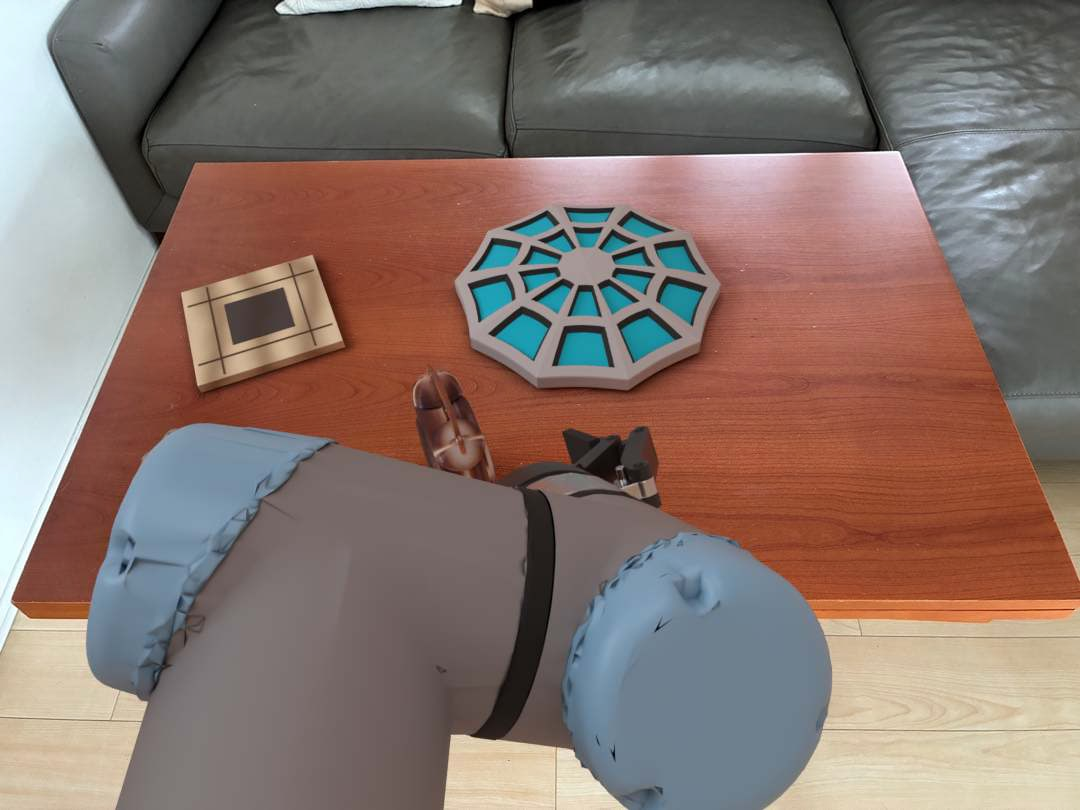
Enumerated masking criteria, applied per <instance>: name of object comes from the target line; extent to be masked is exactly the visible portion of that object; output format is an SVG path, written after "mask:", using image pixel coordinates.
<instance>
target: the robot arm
mask: <svg viewBox="0 0 1080 810" xmlns="http://www.w3.org/2000/svg"><path fill="white" fill-rule="evenodd" d="M177 429H178V430H176V431H174V432H172V433H171V434H169V435H167V436H166V437H165V438H164V439H163V438H162V439H161V440H160V441H159V442H158V443H157V444H156V445H155V446H153V448H152V449H151V450H150V451H149V452H150V453H149V454H148V455H147V456H146V458H145V459H144V461H143V463H142V464H141V463H140V466H139V468H138V469H137V471H136V473H135V474H134V475H133V477H132V480H131V483H130V484H129V487H128V489H127V490H126V493H125V495H124V497H123V500H122V501H121V503H122V504H121V503H120V505H119V508H120V509H118V511H117V513H116V516H115V519H114V521H113V525H112V528H111V531H110V537H109V541H108V546H107V551H106V555H105V556H104V557H105V558H104V560H103V562H102V564H101V566H100V567H99V570H98V573H97V575H96V580H95V584H94V587H93V590H92V593H91V594H92V596H91V599H90V605H89V610H88V616H87V623H86V632H85V634H86V636H85V654H86V659H87V664H88V667H89V670H90V671H91V673H92V675H93V677H94V678H95V679H96V680H97V681H98V682H99V683H101V685H104V686H106V687H108V688H111V689H114V690H117V691H121V692H123V693H127V694H129V695H130V694H131V695H134V696H136V697H137V699H138V700H140V701H141V702H147V703H146V706H145V710H144V714H143V716H142V720H141V723H140V726H139V729H138V733H137V736H136V740H135V743H134V746H133V749H132V753H131V756H130V760H129V763H128V766H127V769H126V772H125V776H124V779H123V782H122V786H121V789H120V792H119V796H118V798H117V802H116V806H115V809H114V810H444V809H445V800H446V790H447V782H448V781H447V780H448V770H449V759H450V750H451V739H452V736H467V737H468V736H469V737H470V738H473V739H474V738H475V739H481V740H488V741H505V742H510V743H511V742H512V743H519V744H526V745H536V746H543V747H551V748H558V749H565V750H566V749H567V750H571V751H573V753H574V758H576V759H577V760H578V761H579V763H580V767H581V768H583V769H586V770H588V771H589V772H590V774H591V776H592V777H593V779H594V780H595V781H596V782H599V784H600V785H601V786H602V787H603V789H605V791H606V792H607V793H608V794H609V795H610V796H612V797H613V798H614V799H615V800H616V801H617V802H618V803H619V804H621V805H622V806H623V807H624V808H625V809H627V810H765V809H766V808H769V807H770V806H771V805H772V804H773V803H775V801H777V800H778V799H779V798H781V797H782V796H783V795H784V794H785V793H786V792H787V791H788V790H789V789H790V787H792V786H793V785H794V783H795V782H796V781H798V778H800V776H801V775H802V773H803V772H804V770H805V769H806V768H807V766H808V764H809V762H810V761H811V758H812V757H813V755H814V753H815V751H816V749H817V748H818V745H819V743H820V741H821V737H822V734H823V728H824V726H825V722H826V720H827V718H828V715H829V706H830V702H831V698H832V692H833V691H832V690H833V668H832V667H833V665H832V659H831V653H830V648H829V644H828V641H827V639H826V635H825V632H824V629H823V628H822V625H821V623H820V620H819V619H818V617H817V615H816V613H815V611H814V610H813V609H812V606H811V605H810V603H809V602H808V600H807V599H806V597H805V596H803V594H802V593H801V592H800V591H799V590H798V589H797V588H796V587H795V586H794V584H792V583H791V582H790V581H788V579H786V577H784V576H783V575H781V574H779V573H778V572H776V571H775V570H773V569H772V568H770V567H769V566H767V565H766V564H764V563H763V562H762V561H760V560H759V559H757V558H756V557H754V555H753V554H752V552H750V551H749V550H747V549H743V548H742V547H741V545H740V542H739V541H737V540H735V539H733V538H730V537H728V536H723V535H719V534H710V533H709V532H706V531H705V530H702V529H700V528H698V527H696V526H694V525H692V524H690V523H688V522H686V521H684V520H682V519H680V518H678V517H677V516H674V515H672V514H669V513H668V512H665V511H663V510H661V509H659V508H661V507H662V506H663V503H662V500H661V496H660V494H659V489H658V486H657V483H656V481H657V475H658V471H659V464H660V461H659V458H658V455H657V452H656V451H657V450H656V448H655V445H654V441H653V437H652V434H651V431H650V428H649V426H645V425H643V426H642V425H640V426H637V427H634V429H632V430H631V431H630V432H629V435H628V437H627V438H626V439H621V435H620V434H609V435H607V436H596V435H593V434H589V433H587V432H583V431H580V430H577V429H575V428H571V427H570V428H567V429H564V430H563V431H561V434H562V438H563V440H564V442H565V447H566V451H567V453H568V457H569V459H570V463H571V464H570V463H566V462H560V461H540V462H539V461H538V462H534V463H530V464H526V465H523V466H521V467H518V468H516V469H514V470H512V471H511V472H509V473H508V474H506V475H504V476H503V477H501V479H500V480H498V481H497V483H496V484H493V483H489V482H485V481H481V480H477V479H473V478H469V477H465V476H461V475H457V474H453V473H449V472H445V471H441V470H437V469H433V468H429V466H425V465H422V464H421V465H420V464H417V463H413V462H408V461H406V460H402V459H401V460H400V459H397V458H393V457H390V456H389V457H388V456H385V455H381V454H376V453H373V452H370V451H364V450H362V449H357V448H352V447H350V446H349V447H348V446H345V445H340V441H337V440H334V439H333V438H331V437H330V438H329V437H319V436H311V435H305V434H298V433H291V432H284V431H279V430H278V431H277V430H272V429H264V428H258V427H250V426H246V427H245V426H244V427H243V426H233V425H227V424H226V425H225V424H219V423H210V422H207V423H204V422H202V423H201V422H198V423H192V424H189V425H185V426H183V427H180V428H177Z"/></svg>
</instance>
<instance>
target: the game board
mask: <svg viewBox="0 0 1080 810" xmlns="http://www.w3.org/2000/svg"><path fill="white" fill-rule="evenodd" d="M316 262H317V261H316V260H315V257H314V255H313V254H310V255H307V256H304V257H300V258H299V257H298V258H295V259H292V260H289V261H286V262H283V263H279V264H276V265H272V266H268V267H265V268H262V269H258V270H254V271H251V272H248V273H244V274H241V275H237V276H234V277H230V278H226V279H223V280H219V281H216V282H212V283H210V284H205V285H203V286H199V287H195V288H191V289H189V290H185V291H182V292H180V295H181V299H182V300H181V301H182V307H183V311H184V318H185V323H186V328H187V335H188V340H189V346H190V352H191V358H192V363H193V369H194V374H195V378H196V380H195V381H196V385H197V388H198V389H199V392H200V393H201V394H202V393H206V392H209V391H212V390H215V389H217V388H221V387H225V386H228V385H230V384H234V383H238V382H240V381H243V380H247V379H250V378H253V377H256V376H260V375H263V374H266V373H269V372H271V371H276V370H278V369H281V368H284V367H288V366H291V365H294V364H297V363H301V362H303V361H307V360H310V359H313V358H317V357H320V356H323V355H326V354H329V353H333V352H335V351H339V350H342V349H345V348H346V344H345V342H344V339H343V335H342V334H341V333H342V332H341V330H340V329H339V324H338V322H337V319H336V316H335V314H334V310H333V307H332V306H331V302H330V299H329V297H328V294H327V291H326V288H325V286H324V282H323V280H322V277H321V274H320V270H319V269H318V266H317V263H316Z"/></svg>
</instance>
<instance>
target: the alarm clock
mask: <svg viewBox="0 0 1080 810" xmlns="http://www.w3.org/2000/svg"><path fill="white" fill-rule="evenodd" d="M425 370H426V372H425V373H423V374H421V375H420V376H418V378H417V379H415V381H414V382H413V385H412V388H411V389H412V390H411V393H412V394H411V395H412V401H413V405H414V410H415V422H414V423H415V427H416V431H417V434H418V438H419V441H420V444H421V447H422V451H423V454H424V456H425V460H426V462H427V463H426V464H427V465H428V467H429V468H433V469H437V470H441V471H445V472H449V473H453V474H457V475H461V476H465V477H469V478H473V479H477V480H481V481H485V482H489V483H493V484H496V483H497V482H498V481H497V476H496V473H495V468H494V465H493V464H494V463H493V461H492V457H491V454H490V451H489V448H488V445H487V441H486V439H485V436H484V434H483V431H482V428H481V426H480V423H479V421H478V418H477V417H476V414H475V412H474V410H473V407H472V405H471V403H470V402H469V400H468V399H467V397H465V396H464V395H463V388H462V386H461V383H460V382H459V380H458V378H457V377H456V375H455V374H453V373H452V372H451V371H448V370H446V369H445V370H444V369H434V366H433V365H432V364H428V365H426V367H425Z"/></svg>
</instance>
